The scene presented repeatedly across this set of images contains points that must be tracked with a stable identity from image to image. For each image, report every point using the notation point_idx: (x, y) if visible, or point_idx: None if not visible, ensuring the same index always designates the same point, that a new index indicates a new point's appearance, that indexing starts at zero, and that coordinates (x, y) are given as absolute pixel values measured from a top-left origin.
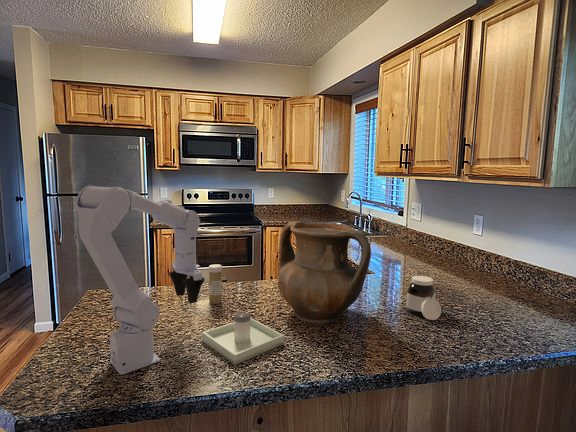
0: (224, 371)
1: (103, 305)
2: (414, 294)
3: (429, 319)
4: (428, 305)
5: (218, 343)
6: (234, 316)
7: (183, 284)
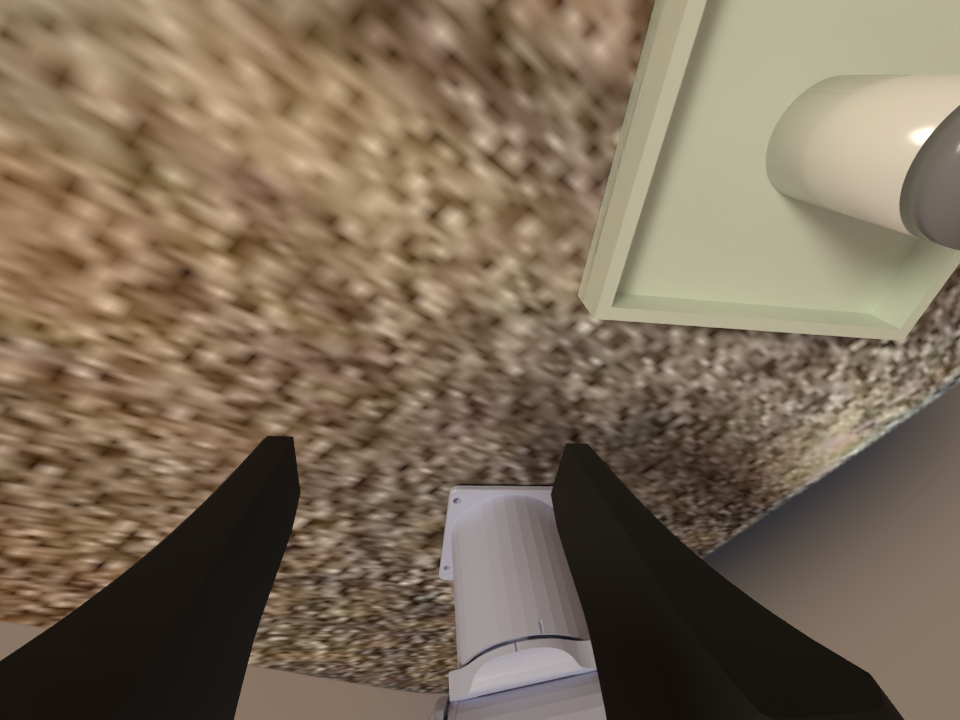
0: (836, 371)
1: None
2: None
3: None
4: None
5: (765, 330)
6: (942, 238)
7: (239, 549)
